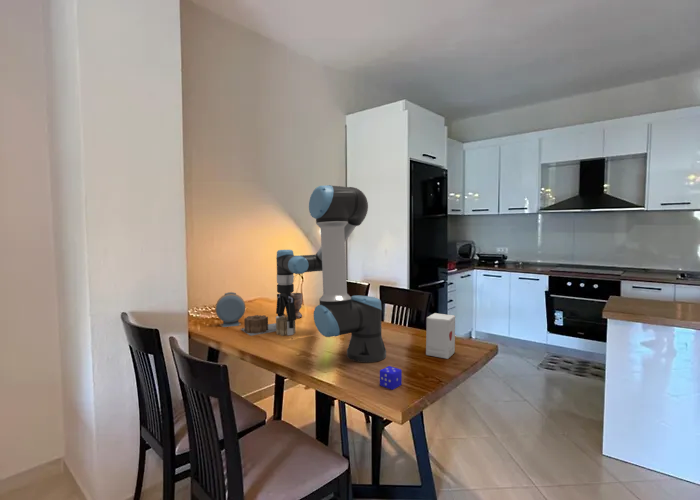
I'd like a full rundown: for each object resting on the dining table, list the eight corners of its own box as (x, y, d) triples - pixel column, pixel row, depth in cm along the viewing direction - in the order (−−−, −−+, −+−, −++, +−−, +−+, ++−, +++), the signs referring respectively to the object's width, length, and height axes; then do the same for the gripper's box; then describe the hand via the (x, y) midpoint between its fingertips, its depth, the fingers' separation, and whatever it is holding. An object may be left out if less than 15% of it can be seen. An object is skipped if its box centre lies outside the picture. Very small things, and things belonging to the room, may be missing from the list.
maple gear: (298, 336, 172) (298, 319, 172) (281, 339, 167) (280, 322, 167) (290, 332, 179) (290, 315, 179) (273, 335, 175) (273, 318, 174)
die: (392, 390, 115) (392, 374, 115) (379, 385, 119) (379, 370, 118) (401, 385, 119) (401, 369, 119) (388, 380, 122) (388, 365, 122)
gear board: (294, 331, 182) (294, 317, 181) (250, 339, 169) (250, 324, 169) (282, 324, 193) (282, 312, 193) (240, 331, 181) (239, 318, 180)
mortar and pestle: (289, 321, 201) (289, 283, 200) (279, 318, 207) (278, 282, 206) (305, 317, 210) (305, 281, 209) (295, 314, 216) (295, 280, 214)
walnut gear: (271, 330, 177) (271, 318, 176) (249, 334, 171) (249, 321, 170) (262, 326, 185) (262, 314, 185) (241, 329, 179) (241, 317, 179)
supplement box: (448, 359, 141) (448, 320, 141) (425, 355, 146) (425, 317, 145) (455, 352, 149) (455, 315, 148) (433, 348, 154) (433, 312, 153)
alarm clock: (245, 323, 196) (244, 290, 195) (246, 328, 187) (245, 293, 186) (216, 326, 192) (215, 291, 191) (215, 331, 182) (214, 295, 181)
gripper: (303, 286, 165) (304, 336, 167) (283, 280, 183) (283, 325, 184) (287, 287, 161) (288, 339, 162) (268, 281, 179) (269, 328, 180)
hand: (285, 332), depth 173 cm, fingers closed on maple gear, 9 cm apart
